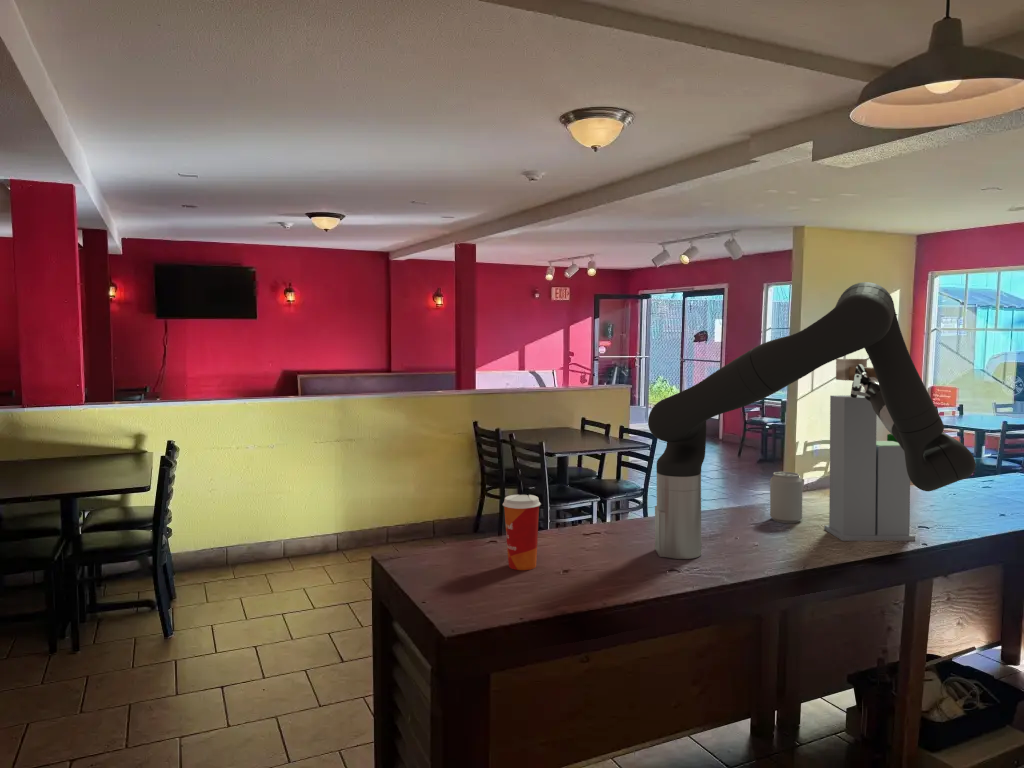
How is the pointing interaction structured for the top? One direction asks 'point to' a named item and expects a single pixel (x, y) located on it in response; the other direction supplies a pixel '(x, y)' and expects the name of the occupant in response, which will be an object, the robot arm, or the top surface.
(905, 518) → the stand
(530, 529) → the paper cup
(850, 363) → the peg
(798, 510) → the can
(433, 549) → the top surface
